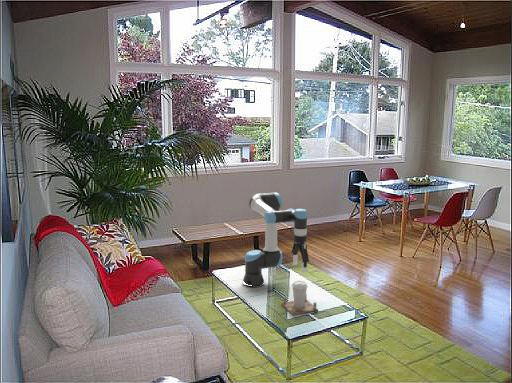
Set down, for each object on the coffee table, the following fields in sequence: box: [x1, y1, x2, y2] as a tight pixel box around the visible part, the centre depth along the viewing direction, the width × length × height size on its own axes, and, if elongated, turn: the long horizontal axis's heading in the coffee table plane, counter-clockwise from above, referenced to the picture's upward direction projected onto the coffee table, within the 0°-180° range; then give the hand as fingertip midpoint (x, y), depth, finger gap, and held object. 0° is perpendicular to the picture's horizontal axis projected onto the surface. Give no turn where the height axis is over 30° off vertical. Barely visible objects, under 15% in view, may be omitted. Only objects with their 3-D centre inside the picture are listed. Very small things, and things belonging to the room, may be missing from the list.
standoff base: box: [281, 293, 319, 316], centre depth 261 cm, size 17×17×5 cm
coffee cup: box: [291, 280, 308, 308], centre depth 260 cm, size 10×10×15 cm
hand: (299, 268), depth 259 cm, fingers open, 13 cm apart
